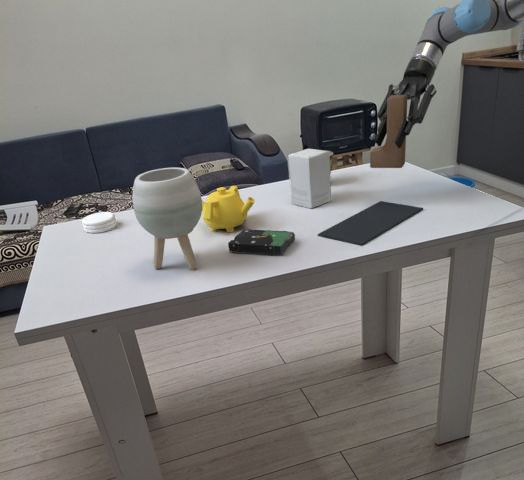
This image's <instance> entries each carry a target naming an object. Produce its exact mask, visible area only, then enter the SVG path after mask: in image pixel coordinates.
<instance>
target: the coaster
mask: <svg viewBox="0 0 524 480" xmlns="http://www.w3.org/2000/svg"><path fill="white" fill-rule="evenodd" d="M81 223H82V227H83V230H84V232H86V233H89V234H100V233H104V232H105V233H106V232H109V231H111V230H112V229H114V228H115V227H117V224H118V222H117V219H116V214H114V213H113V212H110V211H99V212H94V213H91V214H89V215H86V216H85V217H83V218H82V219H81Z"/></svg>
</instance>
